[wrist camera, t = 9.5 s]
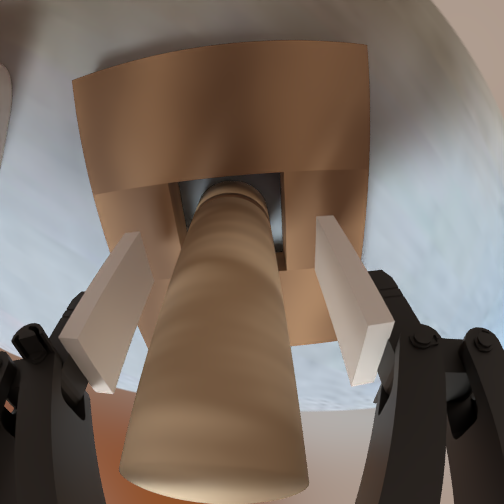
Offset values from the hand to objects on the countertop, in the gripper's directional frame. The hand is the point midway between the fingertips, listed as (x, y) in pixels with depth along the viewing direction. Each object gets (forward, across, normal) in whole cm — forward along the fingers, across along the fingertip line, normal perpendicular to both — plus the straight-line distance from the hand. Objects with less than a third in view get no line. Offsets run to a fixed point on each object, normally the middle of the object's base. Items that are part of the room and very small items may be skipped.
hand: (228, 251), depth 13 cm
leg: (+4, 0, 0) cm, 4 cm away
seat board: (+4, 0, 0) cm, 4 cm away
